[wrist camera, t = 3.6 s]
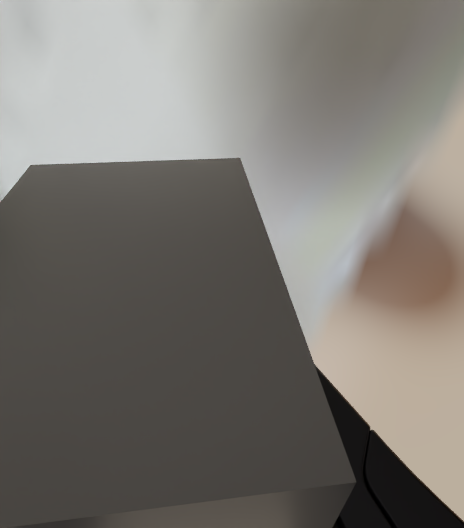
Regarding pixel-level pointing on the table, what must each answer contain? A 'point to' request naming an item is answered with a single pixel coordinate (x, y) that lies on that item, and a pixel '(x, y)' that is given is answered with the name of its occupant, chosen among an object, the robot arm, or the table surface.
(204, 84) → the table surface
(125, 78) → the table surface
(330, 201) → the table surface
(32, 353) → the grey ice pop
